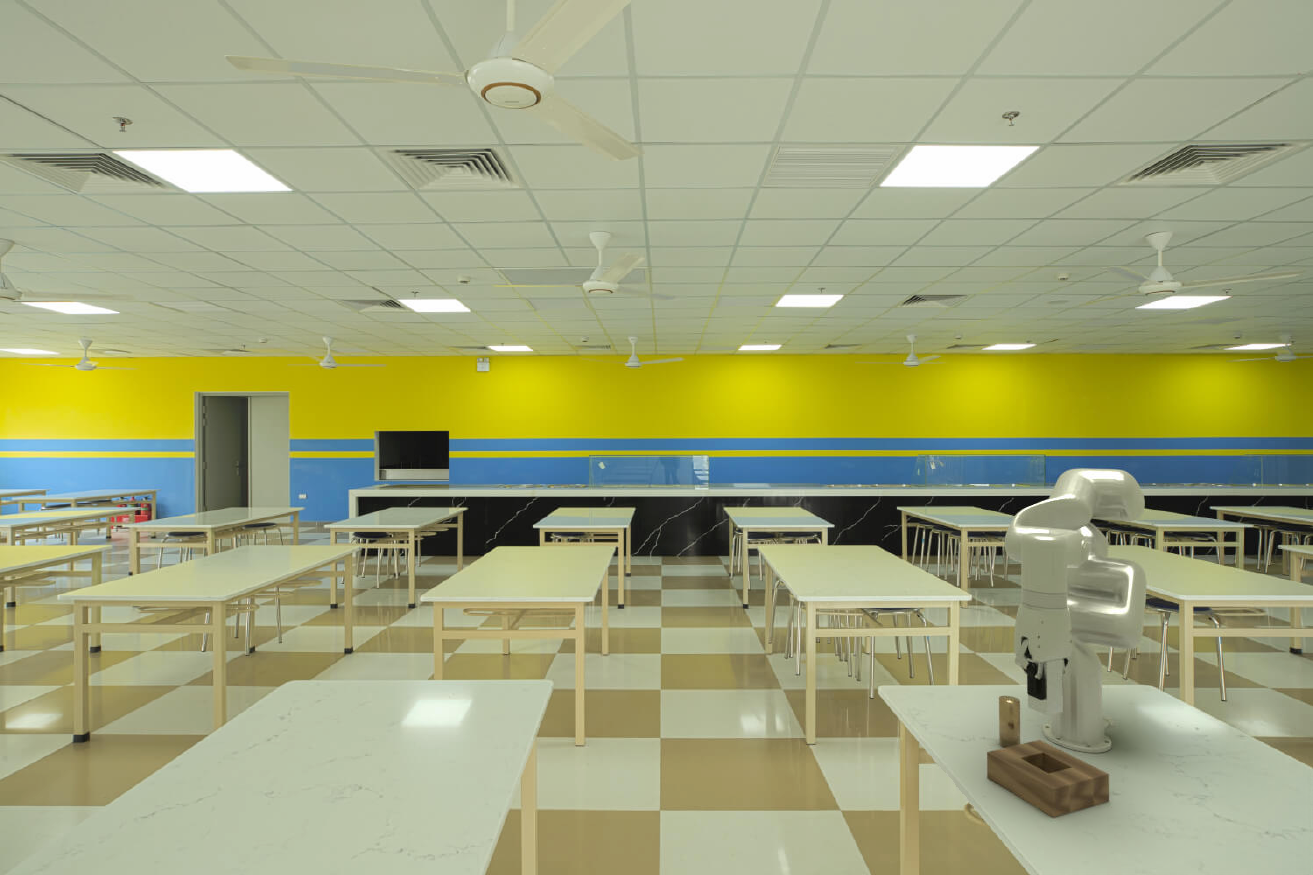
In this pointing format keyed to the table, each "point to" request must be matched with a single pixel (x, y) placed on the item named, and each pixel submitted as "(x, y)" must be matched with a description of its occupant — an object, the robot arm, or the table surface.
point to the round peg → (1009, 721)
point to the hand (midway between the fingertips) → (1045, 694)
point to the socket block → (1048, 777)
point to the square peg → (1050, 689)
